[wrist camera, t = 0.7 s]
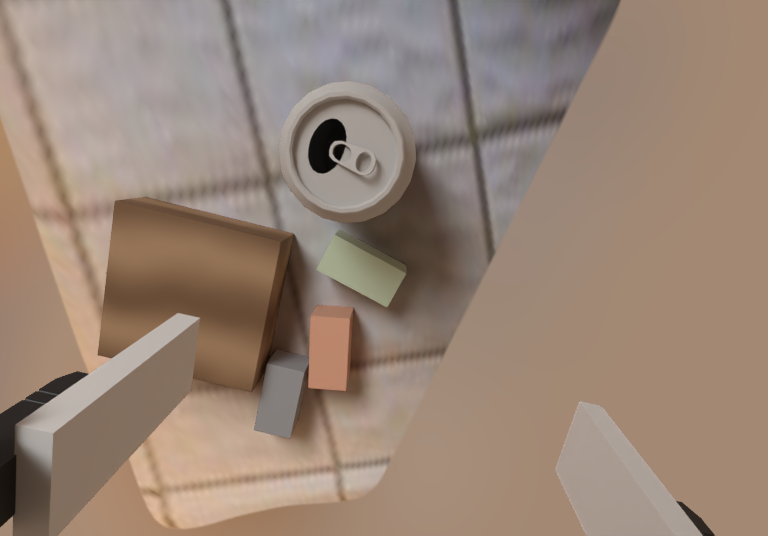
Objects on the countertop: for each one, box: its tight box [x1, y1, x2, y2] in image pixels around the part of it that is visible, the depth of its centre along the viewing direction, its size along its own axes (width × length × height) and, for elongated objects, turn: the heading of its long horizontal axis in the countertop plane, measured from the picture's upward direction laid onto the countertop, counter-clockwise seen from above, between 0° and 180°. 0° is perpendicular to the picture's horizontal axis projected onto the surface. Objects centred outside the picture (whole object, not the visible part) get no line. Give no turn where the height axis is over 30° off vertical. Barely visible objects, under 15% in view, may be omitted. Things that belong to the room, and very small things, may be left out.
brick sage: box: [316, 230, 407, 307], centre depth 35 cm, size 6×3×3 cm, turn 61°
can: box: [279, 81, 416, 223], centre depth 29 cm, size 8×8×12 cm
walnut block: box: [98, 197, 294, 392], centre depth 36 cm, size 12×12×4 cm
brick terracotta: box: [308, 305, 353, 391], centre depth 37 cm, size 6×3×3 cm, turn 176°
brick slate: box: [254, 350, 309, 439], centre depth 38 cm, size 6×3×3 cm, turn 166°
